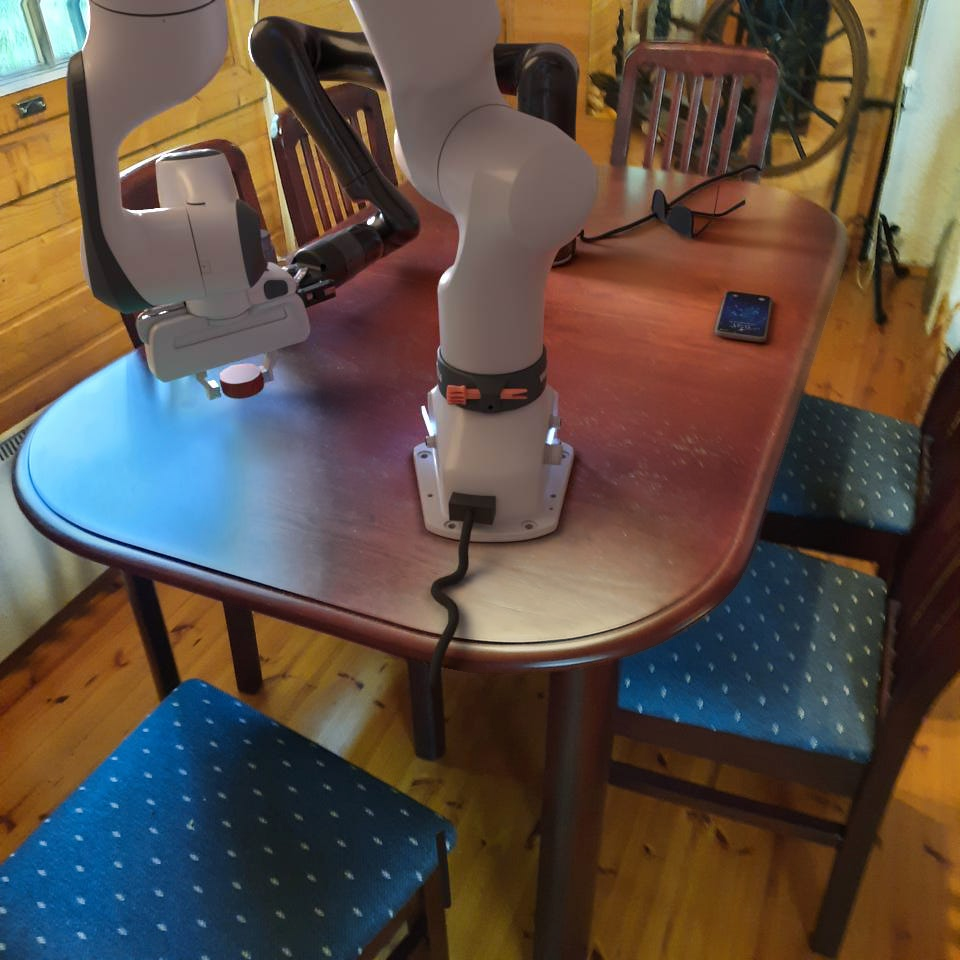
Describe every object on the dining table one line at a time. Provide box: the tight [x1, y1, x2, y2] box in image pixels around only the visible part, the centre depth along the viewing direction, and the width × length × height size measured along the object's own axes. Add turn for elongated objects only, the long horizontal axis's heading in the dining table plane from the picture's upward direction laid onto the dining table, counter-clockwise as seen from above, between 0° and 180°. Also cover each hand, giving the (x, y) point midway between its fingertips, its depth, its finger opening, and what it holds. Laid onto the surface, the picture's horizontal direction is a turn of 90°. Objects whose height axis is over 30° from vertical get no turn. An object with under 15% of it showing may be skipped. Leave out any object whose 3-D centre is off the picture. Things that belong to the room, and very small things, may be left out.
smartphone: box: [714, 290, 774, 343], centre depth 128 cm, size 7×1×15 cm
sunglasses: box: [649, 184, 746, 239], centre depth 159 cm, size 17×14×5 cm
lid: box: [218, 362, 265, 400], centre depth 110 cm, size 5×5×2 cm
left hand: (240, 388), depth 111 cm, fingers open, 6 cm apart
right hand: (254, 305), depth 121 cm, fingers closed on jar, 4 cm apart
